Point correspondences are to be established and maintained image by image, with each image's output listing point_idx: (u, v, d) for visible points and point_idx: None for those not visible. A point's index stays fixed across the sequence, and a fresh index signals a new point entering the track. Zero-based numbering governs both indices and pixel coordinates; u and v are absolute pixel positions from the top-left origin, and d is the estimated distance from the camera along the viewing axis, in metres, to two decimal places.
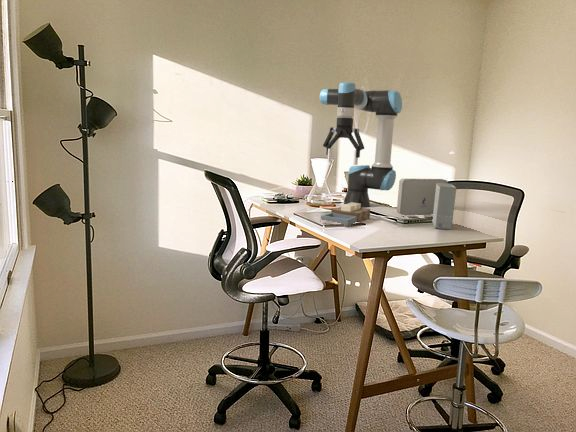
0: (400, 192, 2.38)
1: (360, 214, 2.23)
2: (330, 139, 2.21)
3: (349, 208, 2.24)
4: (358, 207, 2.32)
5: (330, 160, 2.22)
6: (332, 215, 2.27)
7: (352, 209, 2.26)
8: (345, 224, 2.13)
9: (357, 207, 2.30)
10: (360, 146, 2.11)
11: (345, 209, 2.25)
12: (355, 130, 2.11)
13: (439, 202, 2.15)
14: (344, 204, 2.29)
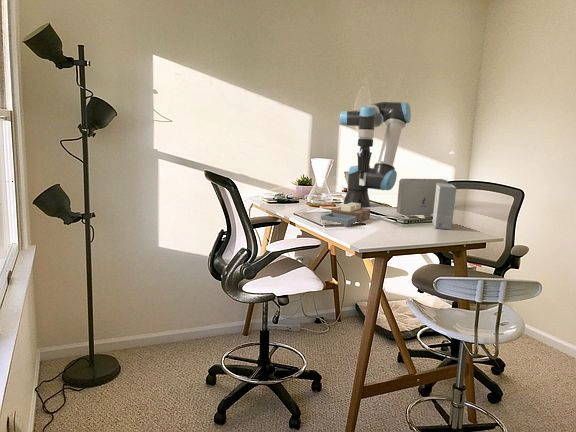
0: (400, 192, 2.38)
1: (360, 214, 2.23)
2: (368, 162, 2.37)
3: (349, 208, 2.24)
4: (358, 207, 2.32)
5: None
6: (332, 215, 2.27)
7: (352, 209, 2.26)
8: (345, 224, 2.13)
9: (357, 207, 2.30)
10: None
11: (345, 209, 2.25)
12: None
13: (439, 202, 2.15)
14: (344, 204, 2.29)
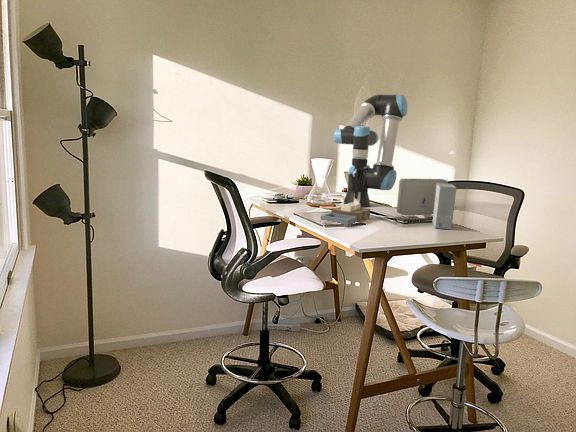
0: (400, 192, 2.38)
1: (360, 214, 2.23)
2: (362, 182, 2.35)
3: (349, 208, 2.24)
4: (358, 207, 2.32)
5: None
6: (332, 215, 2.27)
7: (352, 209, 2.26)
8: (345, 224, 2.13)
9: (357, 207, 2.30)
10: None
11: (345, 209, 2.25)
12: None
13: (439, 202, 2.15)
14: (344, 204, 2.29)
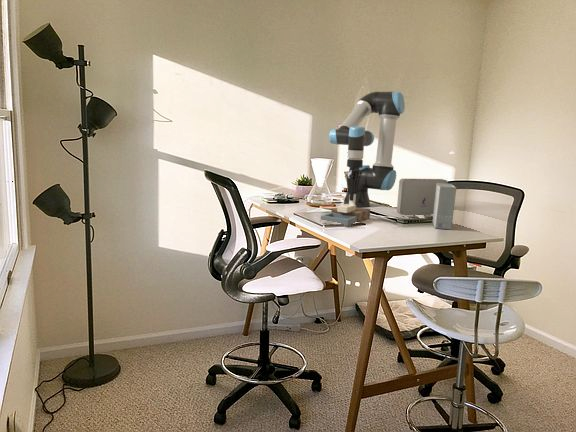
0: (400, 192, 2.38)
1: (360, 214, 2.23)
2: (357, 183, 2.31)
3: (345, 209, 2.21)
4: (353, 209, 2.27)
5: None
6: (332, 215, 2.27)
7: (348, 210, 2.22)
8: (345, 224, 2.13)
9: (352, 209, 2.26)
10: None
11: (341, 210, 2.22)
12: None
13: (439, 202, 2.15)
14: None
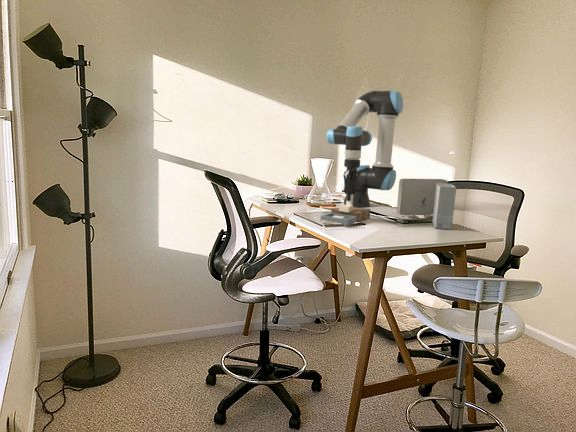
0: (400, 192, 2.38)
1: (360, 214, 2.23)
2: (355, 183, 2.28)
3: None
4: (351, 210, 2.25)
5: None
6: (332, 215, 2.27)
7: None
8: (345, 224, 2.13)
9: (349, 209, 2.23)
10: None
11: None
12: None
13: (439, 202, 2.15)
14: None
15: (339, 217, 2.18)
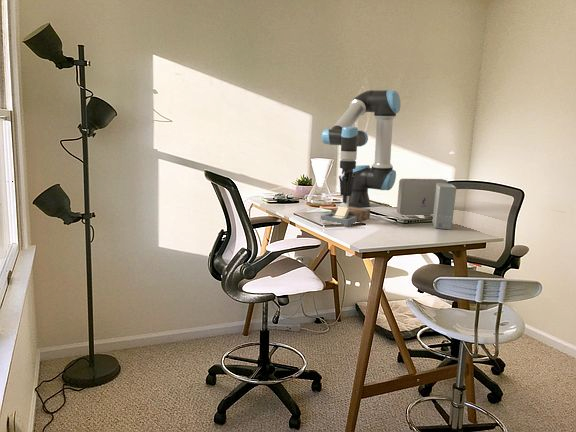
0: (400, 192, 2.38)
1: (360, 214, 2.23)
2: (351, 185, 2.24)
3: None
4: (347, 213, 2.22)
5: None
6: (332, 215, 2.27)
7: None
8: (345, 224, 2.13)
9: (346, 215, 2.21)
10: None
11: None
12: None
13: (439, 202, 2.15)
14: None
15: (339, 217, 2.18)
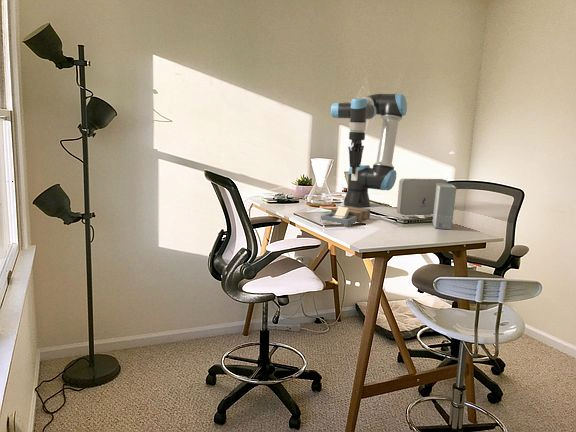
0: (400, 192, 2.38)
1: (360, 214, 2.23)
2: (360, 156, 2.28)
3: None
4: (347, 213, 2.22)
5: None
6: (332, 215, 2.27)
7: None
8: (345, 224, 2.13)
9: (346, 215, 2.21)
10: None
11: None
12: None
13: (439, 202, 2.15)
14: None
15: (339, 217, 2.18)
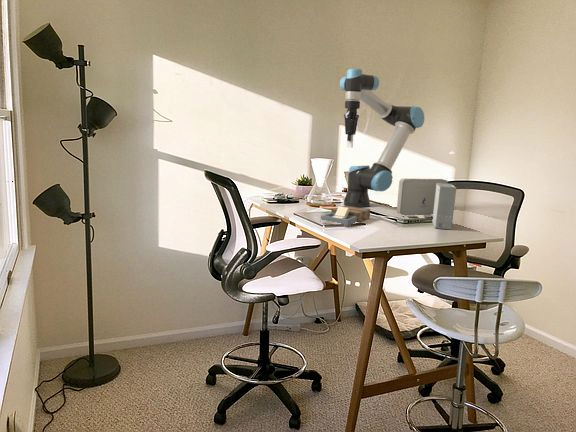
0: (400, 192, 2.38)
1: (360, 214, 2.23)
2: (355, 125, 2.42)
3: None
4: (347, 213, 2.22)
5: None
6: (332, 215, 2.27)
7: None
8: (345, 224, 2.13)
9: (346, 215, 2.21)
10: None
11: None
12: None
13: (439, 202, 2.15)
14: None
15: (339, 217, 2.18)
